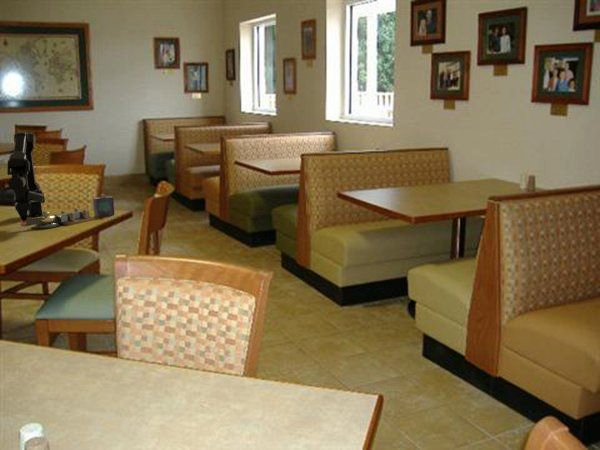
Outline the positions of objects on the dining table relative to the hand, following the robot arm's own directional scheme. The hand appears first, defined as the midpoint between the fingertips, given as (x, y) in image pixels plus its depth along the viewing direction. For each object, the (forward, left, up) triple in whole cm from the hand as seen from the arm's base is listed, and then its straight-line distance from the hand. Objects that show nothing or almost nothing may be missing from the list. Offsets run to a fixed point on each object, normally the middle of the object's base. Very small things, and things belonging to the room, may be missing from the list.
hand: (24, 222), depth 265 cm
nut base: (+3, +9, -3) cm, 10 cm away
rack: (+5, +22, -3) cm, 22 cm away
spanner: (+5, +20, -2) cm, 21 cm away
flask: (+7, +37, -4) cm, 37 cm away
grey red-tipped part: (+3, +5, -1) cm, 5 cm away
